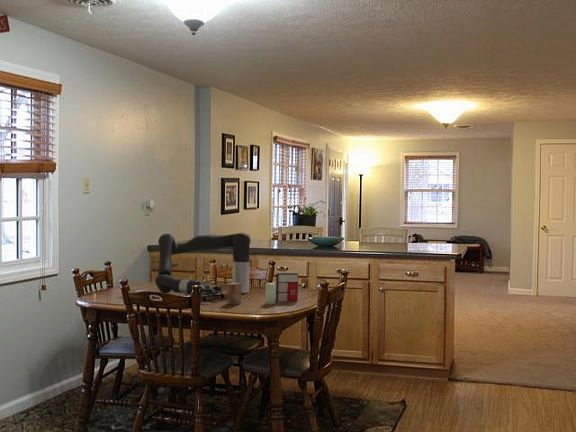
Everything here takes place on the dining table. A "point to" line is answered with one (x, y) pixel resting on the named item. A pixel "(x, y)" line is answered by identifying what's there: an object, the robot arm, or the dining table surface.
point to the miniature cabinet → (286, 287)
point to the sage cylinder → (270, 293)
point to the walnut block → (234, 293)
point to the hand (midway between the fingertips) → (216, 290)
